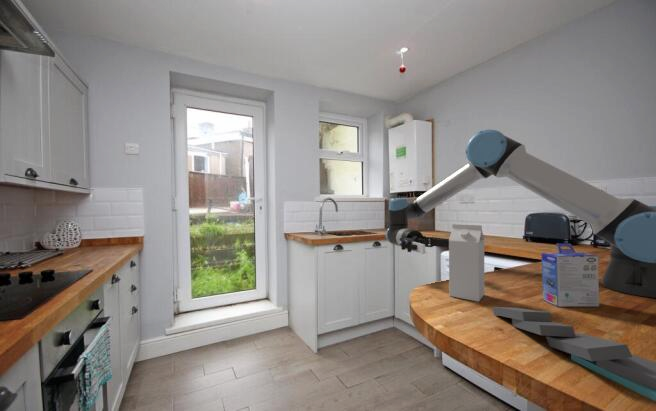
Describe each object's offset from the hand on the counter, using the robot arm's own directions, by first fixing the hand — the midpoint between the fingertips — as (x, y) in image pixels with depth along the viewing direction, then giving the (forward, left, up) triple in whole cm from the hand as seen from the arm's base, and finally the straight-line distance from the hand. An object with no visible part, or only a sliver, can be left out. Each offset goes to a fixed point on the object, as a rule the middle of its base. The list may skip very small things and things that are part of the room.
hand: (444, 248), depth 82 cm
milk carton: (-3, +9, -11) cm, 15 cm away
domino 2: (-9, +27, -10) cm, 30 cm away
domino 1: (-7, +21, -10) cm, 24 cm away
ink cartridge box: (-26, +11, -11) cm, 31 cm away
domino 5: (-13, +40, -9) cm, 43 cm away
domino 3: (-11, +34, -10) cm, 37 cm away
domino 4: (-11, +37, -11) cm, 40 cm away
